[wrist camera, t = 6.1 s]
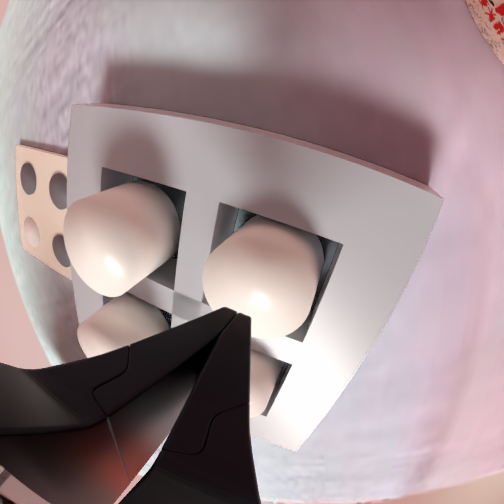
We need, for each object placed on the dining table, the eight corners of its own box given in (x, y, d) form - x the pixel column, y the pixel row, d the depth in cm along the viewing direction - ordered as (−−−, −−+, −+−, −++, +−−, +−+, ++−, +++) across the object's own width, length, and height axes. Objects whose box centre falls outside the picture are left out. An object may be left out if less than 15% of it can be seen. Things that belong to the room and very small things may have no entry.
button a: (273, 386, 16) (255, 427, 14) (210, 360, 17) (185, 397, 14) (294, 338, 15) (277, 384, 12) (220, 310, 15) (191, 348, 13)
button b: (169, 361, 16) (139, 397, 14) (115, 331, 17) (83, 361, 14) (172, 309, 15) (135, 347, 12) (112, 279, 15) (72, 308, 13)
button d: (175, 276, 14) (133, 313, 11) (111, 247, 14) (66, 274, 12) (186, 193, 12) (136, 216, 9) (114, 171, 13) (61, 187, 10)
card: (89, 287, 19) (84, 291, 19) (25, 246, 21) (21, 248, 21) (87, 161, 15) (81, 163, 15) (20, 144, 17) (14, 145, 17)
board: (304, 423, 18) (295, 451, 15) (103, 329, 21) (83, 346, 19) (428, 185, 10) (444, 199, 8) (105, 103, 13) (72, 104, 11)
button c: (306, 308, 14) (291, 353, 11) (227, 278, 15) (196, 314, 12) (336, 230, 12) (329, 262, 9) (244, 199, 13) (211, 221, 10)
